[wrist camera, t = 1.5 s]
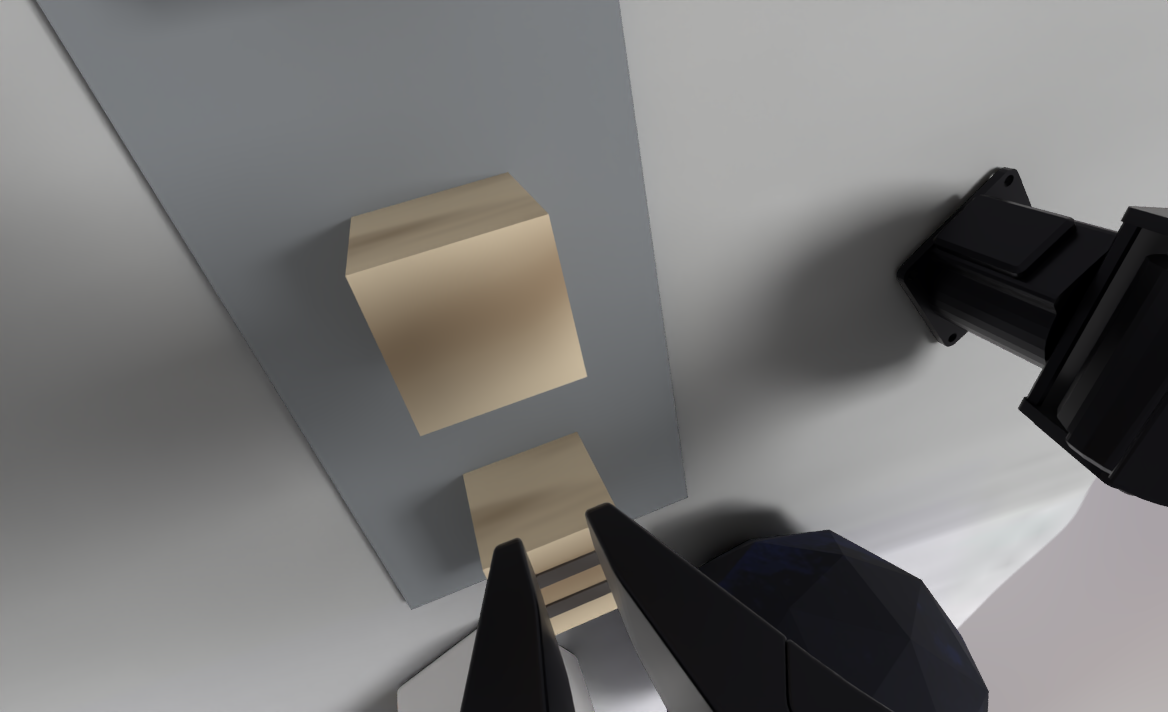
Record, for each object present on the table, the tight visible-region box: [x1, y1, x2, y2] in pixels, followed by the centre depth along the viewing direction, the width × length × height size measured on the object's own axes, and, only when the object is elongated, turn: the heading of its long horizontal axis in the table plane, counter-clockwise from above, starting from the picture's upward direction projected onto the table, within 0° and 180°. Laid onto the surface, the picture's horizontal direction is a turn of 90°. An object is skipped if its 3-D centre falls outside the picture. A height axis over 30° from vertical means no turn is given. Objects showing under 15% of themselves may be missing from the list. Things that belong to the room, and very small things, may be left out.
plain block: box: [345, 172, 587, 436], centre depth 17 cm, size 5×5×5 cm
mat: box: [36, 0, 688, 610], centre depth 19 cm, size 30×14×1 cm, turn 12°
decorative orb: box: [667, 530, 989, 712], centre depth 28 cm, size 14×15×15 cm
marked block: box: [463, 432, 618, 635], centre depth 23 cm, size 5×5×5 cm
